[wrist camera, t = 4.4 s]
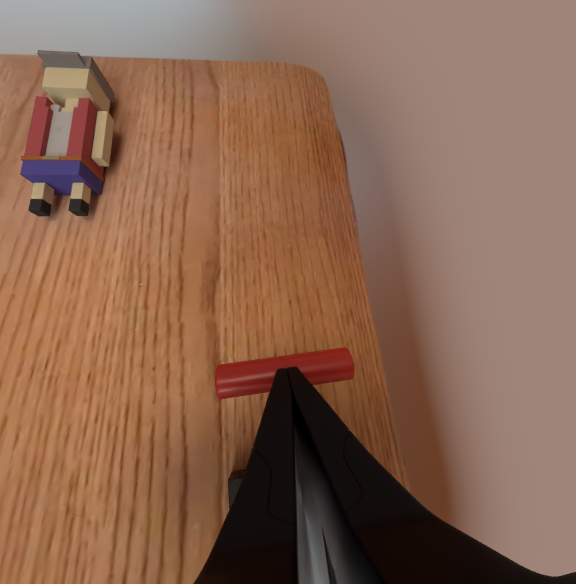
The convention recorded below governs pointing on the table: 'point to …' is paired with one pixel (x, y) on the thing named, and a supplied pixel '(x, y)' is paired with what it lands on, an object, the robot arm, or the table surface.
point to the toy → (69, 133)
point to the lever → (259, 380)
